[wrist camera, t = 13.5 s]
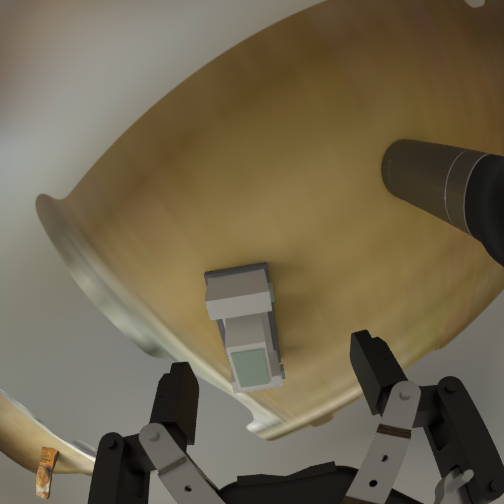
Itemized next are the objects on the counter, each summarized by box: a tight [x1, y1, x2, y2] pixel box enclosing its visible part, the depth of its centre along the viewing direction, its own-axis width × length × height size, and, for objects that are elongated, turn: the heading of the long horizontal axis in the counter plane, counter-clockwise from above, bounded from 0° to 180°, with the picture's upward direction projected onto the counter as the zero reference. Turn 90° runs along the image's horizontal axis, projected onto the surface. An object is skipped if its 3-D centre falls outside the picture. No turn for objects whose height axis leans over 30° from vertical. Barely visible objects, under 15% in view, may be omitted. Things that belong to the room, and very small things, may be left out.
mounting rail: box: [204, 262, 285, 393], centre depth 41 cm, size 9×20×7 cm, turn 9°
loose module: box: [225, 313, 273, 390], centre depth 38 cm, size 5×9×9 cm, turn 9°
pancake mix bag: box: [36, 447, 59, 499], centre depth 59 cm, size 7×19×28 cm, turn 118°
